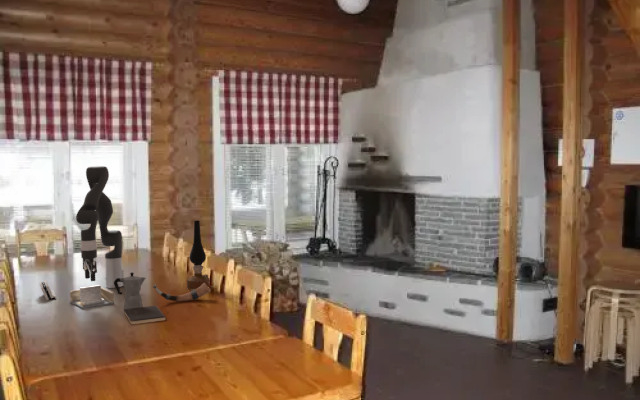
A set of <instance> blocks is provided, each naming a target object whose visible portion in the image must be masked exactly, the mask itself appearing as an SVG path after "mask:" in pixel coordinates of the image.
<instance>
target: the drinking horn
mask: <svg viewBox="0 0 640 400" xmlns="http://www.w3.org/2000/svg"><path fill="white" fill-rule="evenodd" d="M152 288H154V289H155V291H156V292H157V293H158V294H159V295H160V296H161V297H163V298H164V300H166V301H173V302H188V301H192V300H193V301H195V300H198V299H199V298H202V297H203V296H205V295H208V293H210V292H212V290H211V289H210V288H208V286H207V285H206V284H205V283H203V284H202V285H201V286H200V287H198V288H197V289H194V290H193V289H192V290H189V291H190V292H187V293H185V294H180V295H171V294H170V292H168V293H164V292H163V291H161V290H160V289H159V288H158V287H157V284H154V285H152Z"/></svg>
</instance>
